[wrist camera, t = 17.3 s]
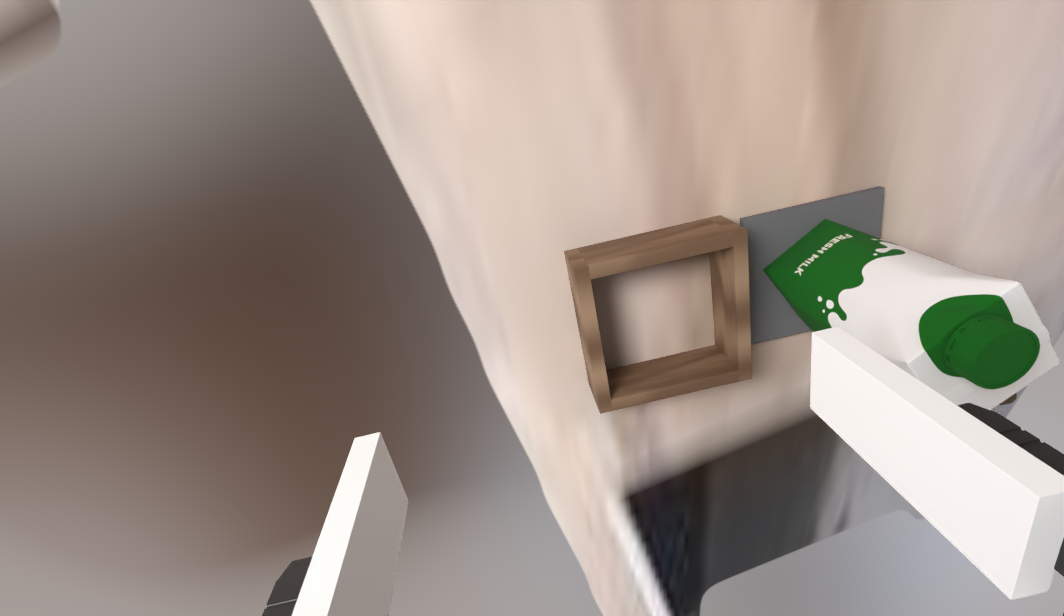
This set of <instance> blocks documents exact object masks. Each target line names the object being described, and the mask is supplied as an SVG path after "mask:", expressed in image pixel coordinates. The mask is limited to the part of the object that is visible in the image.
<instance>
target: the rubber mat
mask: <svg viewBox="0 0 1064 616" xmlns="http://www.w3.org/2000/svg"><path fill="white" fill-rule="evenodd" d="M883 196H884V187H880V186H879V187H875V188H870V189H866V190H862V191H857V192H853V193H849V194H844V195H840V196H836V197H831V198H827V199H823V200H818V201H814V202H809V203H805V204H801V205H796V206H792V207H788V208H783V209H779V210H775V211H770V212H766V213H762V214H757V215H753V216H749V217H744V218H740V226H742V227H744V228H746V229H747V232H748V264H749V297H750V329H751V344H756V343H760V342H764V341H769V340H773V339H777V338H782V337H786V336H790V335H794V334H799V333H803V332H807V331H812V330H811V329H810V328H809V327H808V326H807V325H806V324H805V323H804V322H803V320H802V319H801V318H800V317H799V316H798V315H797V313H796V312H795V311H794V310H793V308H792V307H791V306H790V304H789V303H788V302H787V300H786V299H785V298H784V297H783V295H782V294H781V293H780V291H779V290H778V289H777V288H776V286H775V285H774V284H773V282H772V281H771V280H770V279H769V277H768V276H767V275H766V273H765V272H764V271H763V269H764V268H766V267H767V266H768V265H769V264H771V263H772V262H773V261H774V260H775V259H777V258H778V257H779V256H780V255H782V254H783V253H784V252H785V251H786V250H788V249H789V248H790V247H791V246H793V245H794V244H795V243H796V242H797V241H799V240H800V239H801V238H802V237H804V236H805V235H806V234H807V233H808V232H810V231H811V230H812V229H813V228H815V227H816V226H817V225H818V224H819V223H821V222H822V221H823V220H824V219H827V220H830V221H833V222H835V223H838V224H841V225H844V226H847V227H849V228H852V229H855V230H858V231H861V232H864V233H866V234H869V235H872V236H874V237H877V238H880V233H881V220H882V208H883Z"/></svg>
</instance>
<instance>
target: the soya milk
mask: <svg viewBox="0 0 1064 616" xmlns="http://www.w3.org/2000/svg"><path fill="white" fill-rule="evenodd" d="M763 271H764V272H765V273H766V275H767V276H768V277H769V279H770V280H771V281H772V282H773V284H774V285H775V286H776V288H777V289H778V290H779V291H780V293H781V294H782V295H783V297H784V298H785V299H786V300H787V302H788V303H789V304H790V306H791V307H792V308H793V310H794V311H795V312H796V313H797V315H798V316H799V317H800V318H801V319H802V320H803V322H804V323H805V324H806V325H807V326H808V327H809V328H810V329H811V330H812V331H813V332H816V331H820V330H825V329H829V328H833V327H838V328H840V329H842V330H843V331H845V332H846V333H848V334H849V335H851V336H852V337H854V338H855V339H857V340H858V341H860V342H861V343H863V344H864V345H866V346H867V347H869V348H870V349H872V350H873V351H875V352H876V353H878V354H880V355H881V356H883V357H884V358H886V359H887V360H889V361H890V362H892V363H893V364H895V365H896V366H898V367H899V368H901V369H902V370H904V371H905V372H907V373H908V374H910V375H911V376H913V377H914V378H916V379H917V380H919V381H921V382H922V383H924V384H925V385H927V386H928V387H930V388H931V389H933V390H934V391H936V392H937V393H939V394H940V395H942V396H943V397H945V398H946V399H948V400H949V401H951V402H952V403H954V404H955V405H961V404H965V403H972V404H974V405H977V406H980V407H982V408H985V409H988V410H991V409H993V408H994V407H996V406H997V405H999V404H1000V403H1002V402H1003V401H1005V400H1006V399H1008V398H1009V397H1011V396H1012V395H1014V394H1015V393H1017V392H1018V391H1020V390H1021V389H1023V388H1024V387H1026V386H1027V385H1028V384H1030V383H1031V382H1033V381H1034V380H1036V379H1037V378H1039V377H1040V376H1042V375H1043V374H1045V373H1046V372H1047V371H1049V370H1051V369H1052V368H1054V367H1055V366H1056V365H1058V364H1059V363H1061V362H1060V360H1059V358H1058V356H1057V354H1056V352H1055V350H1054V348H1053V346H1052V344H1051V342H1050V341H1049V339H1050V338H1051V336H1050V334H1049V332H1048V330H1047V328H1046V327H1045V326H1044V325H1043V323H1042V321H1041V319H1040V317H1039V315H1038V314H1037V312H1036V310H1035V308H1034V306H1033V304H1032V303H1031V301H1030V299H1029V297H1028V295H1027V293H1026V292H1025V290H1024V288H1023V286H1022V284H1021V283H1019V282H1018V281H1013V280H1007V279H1002V278H997V277H992V276H987V275H982V274H977V273H973V272H970V271H967V270H965V269H962V268H959V267H956V266H954V265H951V264H948V263H945V262H943V261H940V260H937V259H935V258H932V257H929V256H926V255H924V254H921V253H918V252H915V251H913V250H910V249H907V248H904V247H902V246H899V245H896V244H893V243H891V242H888V241H885V240H882V239H880V238H877V237H874V236H872V235H869V234H866V233H864V232H861V231H858V230H855V229H852V228H849V227H847V226H844V225H841V224H838V223H835V222H833V221H830V220H827V219H824V220H823V221H822V222H821V223H819V224H818V225H817V226H816V227H815V228H813V229H812V230H811V231H810V232H808V233H807V234H806V235H805V236H804V237H802V238H801V239H800V240H799V241H797V242H796V243H795V244H794V245H793V246H791V247H790V248H789V249H788V250H786V251H785V252H784V253H783V254H782V255H780V256H779V257H778V258H777V259H775V260H774V261H773V262H772V263H771V264H769V265H768V266H767V267H766V268H764V269H763Z"/></svg>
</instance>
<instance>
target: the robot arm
mask: <svg viewBox="0 0 1064 616" xmlns="http://www.w3.org/2000/svg"><path fill="white" fill-rule="evenodd" d="M810 408H811V409H812V410H813V411H814V412H815V413H816V414H817V415H818V416H819V417H820V418H821V419H822V420H823V421H824V422H825V423H827V424H828V425H829V426H830V427H831V428H832V429H833V430H834V431H835V432H836V433H837V434H838V435H839V436H840V437H841V438H842V439H843V440H844V441H845V442H846V443H847V444H848V445H850V446H851V447H852V448H853V449H854V450H855V451H856V452H857V453H858V454H859V455H860V456H861V457H862V458H863V459H864V460H865V461H866V462H867V463H868V464H869V465H870V466H871V467H873V468H874V469H875V470H876V471H877V472H878V473H879V474H880V475H881V476H882V477H883V478H884V479H885V480H886V481H887V482H888V483H889V484H890V485H891V486H892V487H893V488H894V489H896V490H897V491H898V492H899V493H900V494H901V495H902V496H903V497H904V498H905V499H906V500H907V501H908V502H909V503H910V504H911V505H912V506H913V507H914V508H915V509H916V510H917V511H919V512H920V513H921V514H922V515H923V516H924V517H925V518H926V519H927V520H928V521H929V522H930V523H931V524H932V525H933V526H934V527H935V528H936V529H937V530H938V531H939V532H941V534H943V535H944V536H945V537H946V538H947V539H948V540H949V541H950V542H951V543H952V544H953V545H954V546H955V547H956V548H957V549H958V550H959V551H960V552H961V553H962V554H964V555H965V556H966V557H967V558H968V559H969V560H970V561H971V562H972V563H973V564H974V565H975V566H976V567H977V568H978V569H979V570H980V571H981V572H982V573H983V574H984V575H985V576H986V577H987V578H989V579H990V580H991V581H992V582H993V583H994V584H995V585H996V586H997V587H998V588H999V589H1000V590H1001V591H1002V592H1003V593H1004V594H1005V595H1006V596H1007V597H1008V598H1009V599H1011V600H1014V599H1018V598H1022V597H1026V596H1031V595H1035V594H1039V593H1043V592H1047V591H1049V588H1050V585H1051V582H1052V578H1053V576H1054V572H1055V570H1056V571H1058V572H1059V573H1060V574H1061V575H1063V576H1064V454H1062V453H1061V452H1059V451H1058V450H1056V449H1054V448H1053V447H1051V446H1050V445H1048V444H1046V443H1041V442H1040V440H1039V439H1038V438H1036V437H1034V436H1033V435H1032V434H1030V433H1028V432H1027V431H1022V430H1021V428H1020V427H1019V426H1017V425H1016V424H1014V423H1012V422H1011V421H1009V420H1008V419H1006V418H1004V417H1003V416H1001V415H1000V414H998V413H996V412H993V411H990V410H988V409H985V408H982V407H980V406H977V405H974V404H972V403H965V404H961V405H955V404H954V403H952V402H951V401H949V400H948V399H946V398H945V397H943V396H942V395H940V394H939V393H937V392H936V391H934V390H933V389H931V388H930V387H928V386H927V385H925V384H924V383H922V382H921V381H919V380H917V379H916V378H914V377H913V376H911V375H910V374H908V373H907V372H905V371H904V370H902V369H901V368H899V367H898V366H896V365H895V364H893V363H892V362H890V361H889V360H887V359H886V358H884V357H883V356H881V355H880V354H878V353H876V352H875V351H873V350H872V349H870V348H869V347H867V346H866V345H864V344H863V343H861V342H860V341H858V340H857V339H855V338H854V337H852V336H851V335H849V334H848V333H846V332H845V331H843V330H842V329H840V328H838V327H833V328H829V329H825V330H820V331H816V332H812V354H811V391H810ZM407 506H408V499H407V496H406V494H405V492H404V489H403V487H402V484H401V482H400V479H399V477H398V474H397V472H396V470H395V467H394V465H393V462H392V460H391V457H390V455H389V452H388V450H387V448H386V445H385V443H384V440H383V438H382V435H381V433H380V432H379V433H375V434H371V435H366V436H362V437H358V438H355V439H354V442H353V445H352V448H351V450H350V453H349V456H348V459H347V462H346V464H345V467H344V470H343V473H342V476H341V479H340V481H339V484H338V487H337V490H336V492H335V495H334V498H333V501H332V504H331V506H330V509H329V512H328V515H327V518H326V520H325V523H324V526H323V529H322V532H321V535H320V537H319V540H318V543H317V546H316V549H315V551H314V554H313V557H309V558H305V559H300V560H295V561H292V562H291V563H290V565H289V566H288V567H287V569H286V570H285V571H284V573H283V574H282V575H281V577H280V578H279V579H278V580H277V581H276V583H275V586H274V588H273V590H272V593H271V595H270V598H269V600H268V603H267V609H265V610H264V612H263V615H262V616H389V611H390V606H391V599H392V594H393V587H394V582H395V576H396V571H397V565H398V559H399V553H400V547H401V541H402V536H403V530H404V524H405V518H406V512H407ZM1063 616H1064V614H1063Z"/></svg>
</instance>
